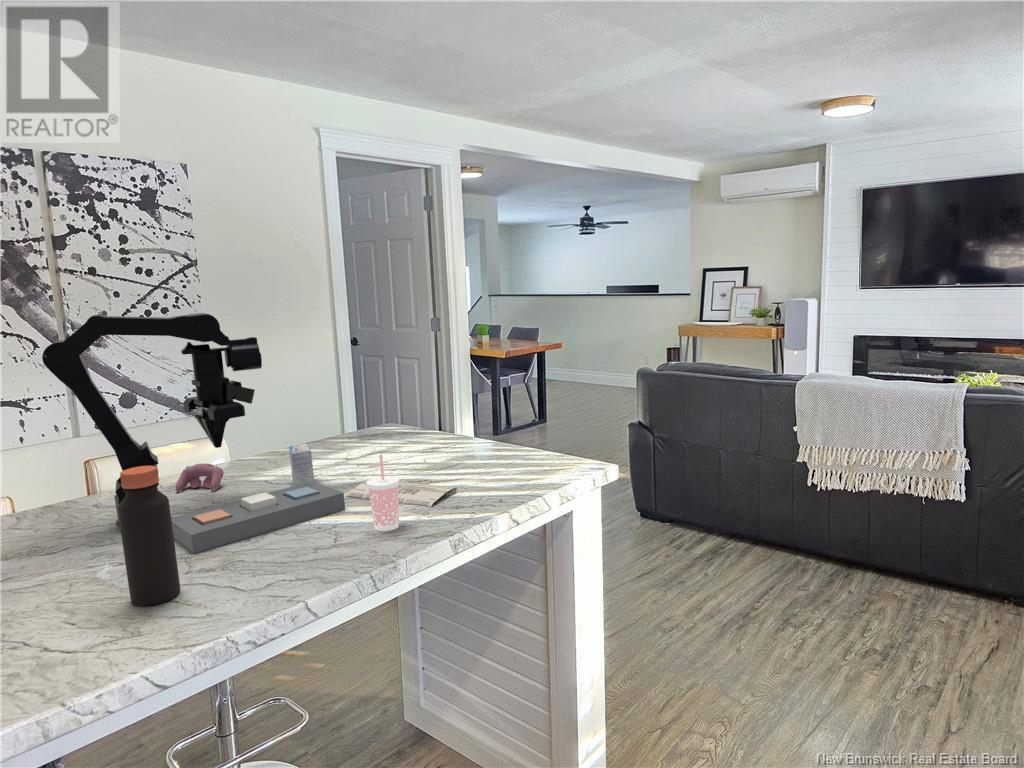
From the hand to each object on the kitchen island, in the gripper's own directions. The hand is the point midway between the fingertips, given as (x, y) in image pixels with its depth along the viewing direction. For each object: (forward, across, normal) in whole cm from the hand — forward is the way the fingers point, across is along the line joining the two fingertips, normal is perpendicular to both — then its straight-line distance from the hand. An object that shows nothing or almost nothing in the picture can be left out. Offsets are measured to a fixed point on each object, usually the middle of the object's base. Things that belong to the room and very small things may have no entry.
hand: (217, 447), depth 146 cm
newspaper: (+14, -23, -30) cm, 40 cm away
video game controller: (+13, +18, -1) cm, 23 cm away
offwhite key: (+11, -16, -1) cm, 19 cm away
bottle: (+13, -36, +24) cm, 45 cm away
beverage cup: (+13, -38, -16) cm, 43 cm away
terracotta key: (+12, -16, +8) cm, 22 cm away
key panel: (+13, -16, -1) cm, 21 cm away
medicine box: (+13, +2, -19) cm, 23 cm away
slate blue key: (+12, -16, -10) cm, 22 cm away
